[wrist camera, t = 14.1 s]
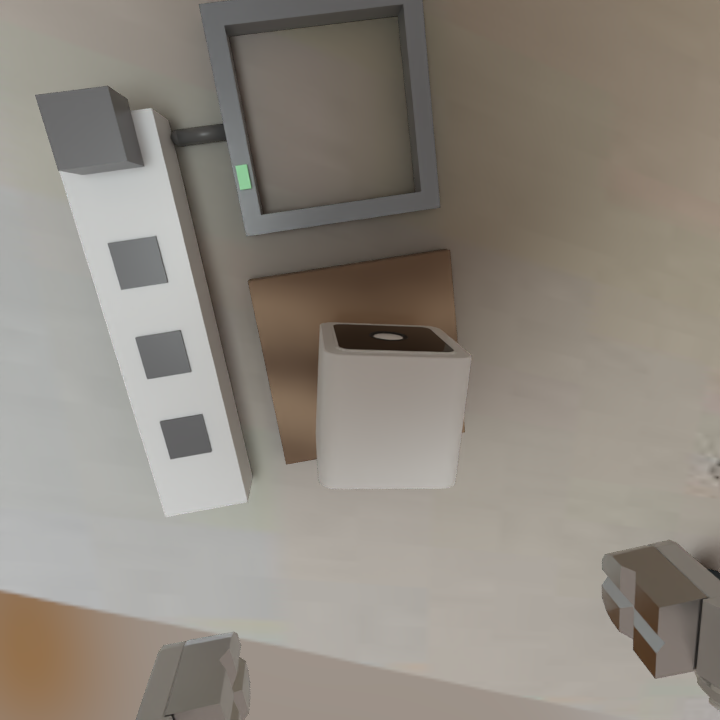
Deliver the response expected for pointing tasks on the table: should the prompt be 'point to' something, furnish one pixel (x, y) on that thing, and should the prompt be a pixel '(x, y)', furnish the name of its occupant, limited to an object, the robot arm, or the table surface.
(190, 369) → the power strip
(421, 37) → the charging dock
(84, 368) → the table surface
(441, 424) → the security camera
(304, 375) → the walnut pad
